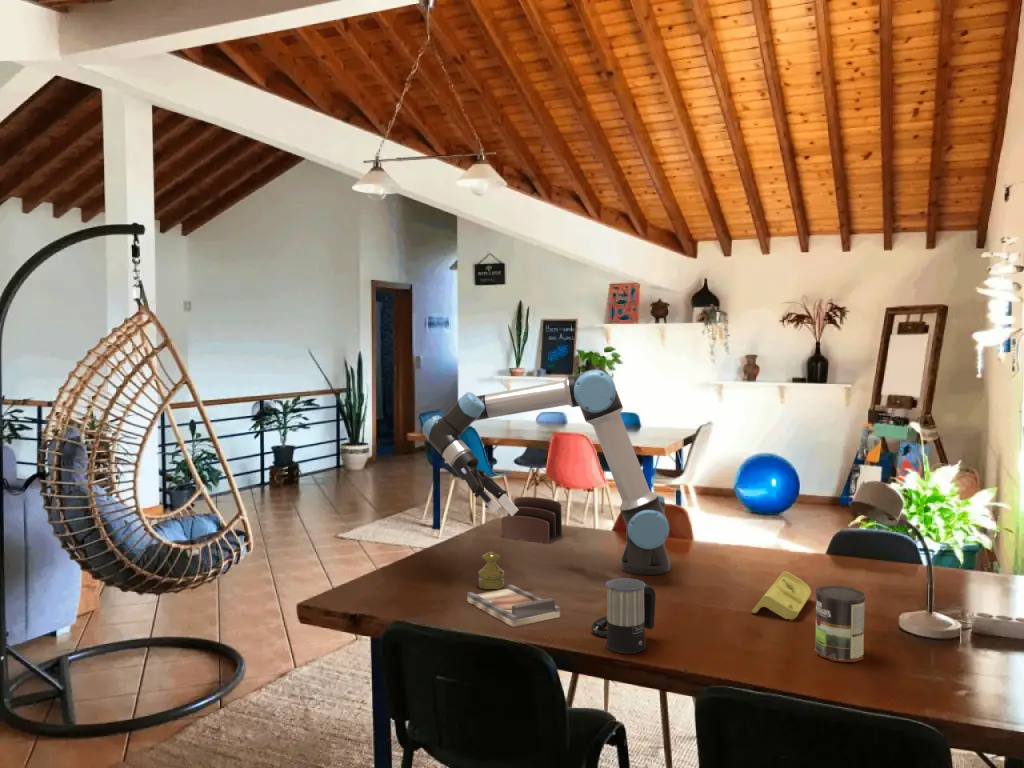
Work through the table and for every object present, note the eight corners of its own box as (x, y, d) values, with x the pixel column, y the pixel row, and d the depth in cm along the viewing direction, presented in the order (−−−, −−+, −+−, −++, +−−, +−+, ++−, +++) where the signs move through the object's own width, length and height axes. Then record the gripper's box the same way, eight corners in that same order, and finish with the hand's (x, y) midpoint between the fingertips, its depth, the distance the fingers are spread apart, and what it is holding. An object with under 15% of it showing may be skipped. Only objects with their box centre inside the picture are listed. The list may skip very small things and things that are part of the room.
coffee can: (827, 664, 179) (828, 600, 178) (806, 647, 189) (807, 586, 188) (873, 662, 179) (874, 598, 179) (850, 645, 190) (851, 584, 189)
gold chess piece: (474, 588, 235) (474, 554, 235) (484, 581, 242) (484, 548, 242) (498, 591, 233) (497, 556, 232) (508, 584, 240) (507, 550, 239)
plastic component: (797, 614, 205) (761, 591, 209) (784, 637, 207) (748, 614, 212) (815, 587, 221) (780, 567, 226) (802, 609, 224) (768, 589, 228)
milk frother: (635, 657, 183) (636, 591, 183) (573, 644, 192) (572, 581, 191) (660, 638, 195) (660, 576, 195) (599, 626, 204) (599, 567, 203)
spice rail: (467, 601, 224) (466, 585, 224) (511, 593, 231) (511, 577, 231) (513, 627, 203) (513, 609, 203) (560, 617, 211) (559, 599, 210)
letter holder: (515, 532, 306) (515, 494, 305) (562, 538, 296) (562, 499, 295) (501, 537, 298) (500, 499, 297) (548, 544, 287) (548, 504, 286)
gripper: (469, 472, 254) (513, 523, 246) (433, 463, 232) (480, 518, 223) (486, 455, 254) (530, 505, 245) (451, 444, 231) (499, 499, 222)
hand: (506, 511), depth 234 cm, fingers open, 13 cm apart
